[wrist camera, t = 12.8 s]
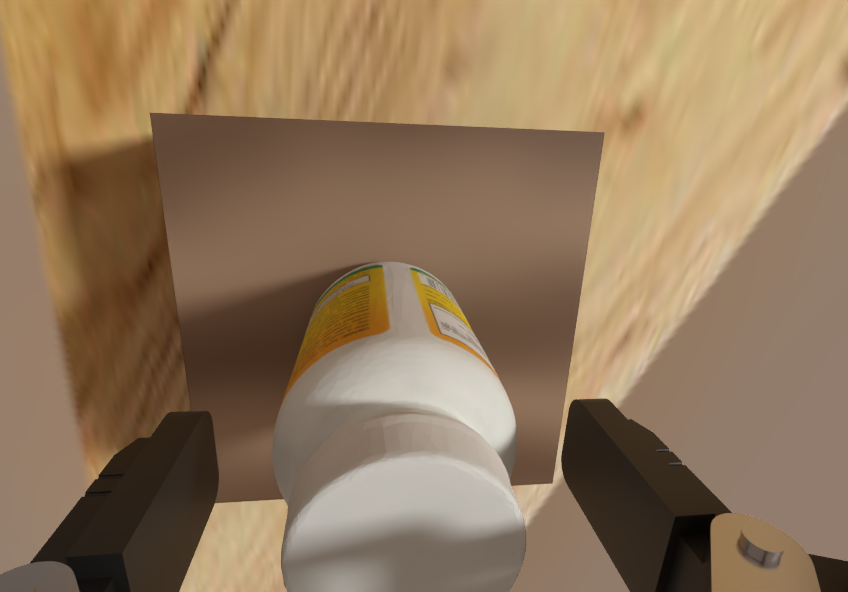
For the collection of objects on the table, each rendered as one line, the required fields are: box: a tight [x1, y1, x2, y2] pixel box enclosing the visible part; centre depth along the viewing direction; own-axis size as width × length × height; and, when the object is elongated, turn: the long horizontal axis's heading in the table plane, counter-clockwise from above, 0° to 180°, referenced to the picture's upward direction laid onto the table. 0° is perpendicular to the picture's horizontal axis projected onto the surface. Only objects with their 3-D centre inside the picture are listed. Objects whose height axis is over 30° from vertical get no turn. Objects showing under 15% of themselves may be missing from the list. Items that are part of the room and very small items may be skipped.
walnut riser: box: [150, 113, 604, 503], centre depth 19 cm, size 14×14×6 cm
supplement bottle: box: [272, 262, 526, 592], centre depth 12 cm, size 5×5×10 cm
